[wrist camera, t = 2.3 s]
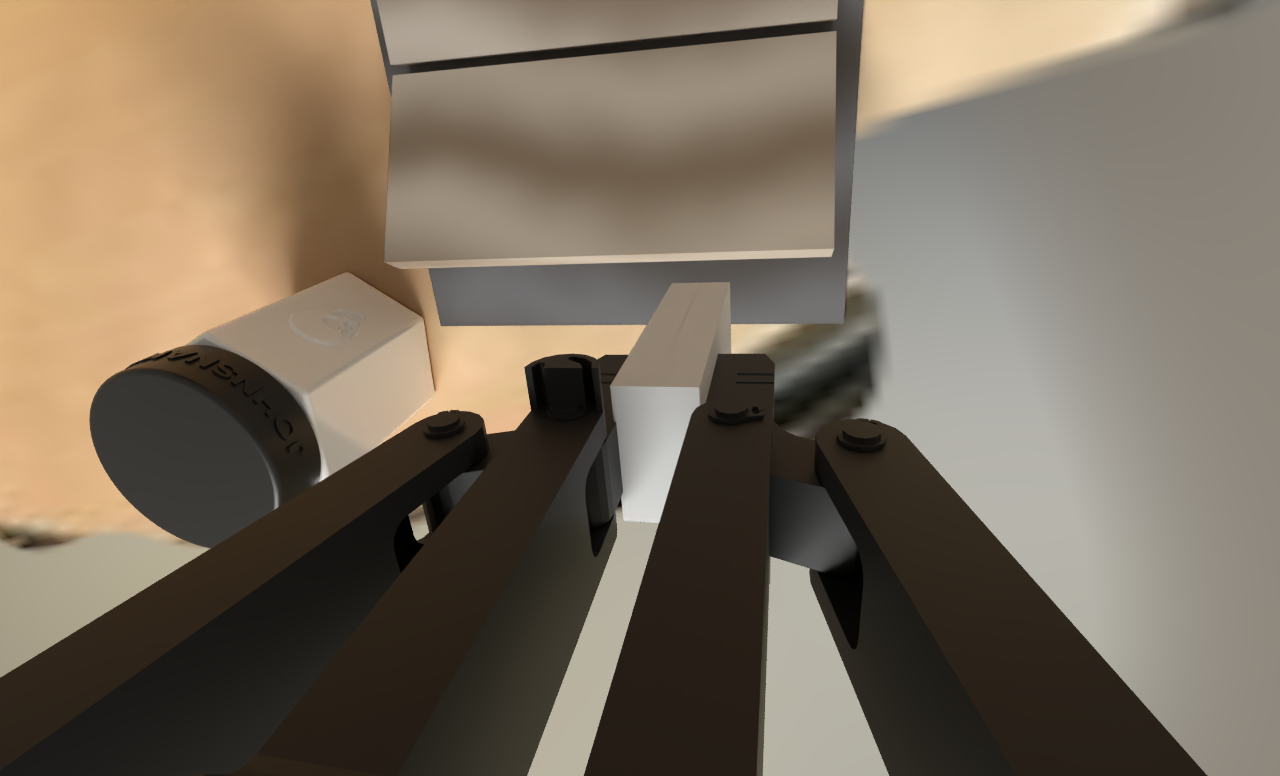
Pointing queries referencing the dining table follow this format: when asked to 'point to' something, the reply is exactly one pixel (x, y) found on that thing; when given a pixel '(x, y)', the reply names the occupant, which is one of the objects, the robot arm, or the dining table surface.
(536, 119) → the plank
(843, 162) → the grey flat panel
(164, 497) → the jar
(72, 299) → the dining table surface
